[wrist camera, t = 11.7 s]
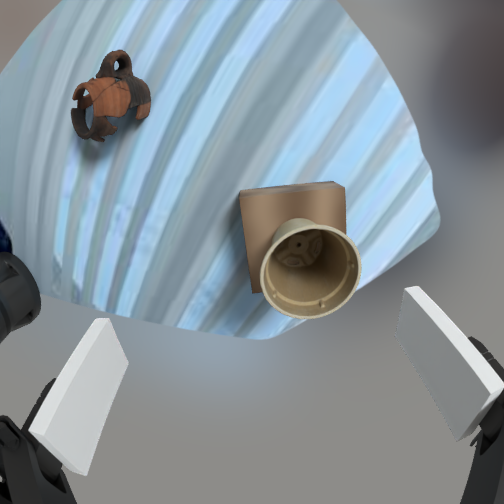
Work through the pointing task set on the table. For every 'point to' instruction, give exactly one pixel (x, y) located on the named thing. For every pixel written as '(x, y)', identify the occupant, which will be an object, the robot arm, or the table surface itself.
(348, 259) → the flower pot
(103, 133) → the broken clay jug
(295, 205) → the walnut stand
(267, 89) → the table surface
